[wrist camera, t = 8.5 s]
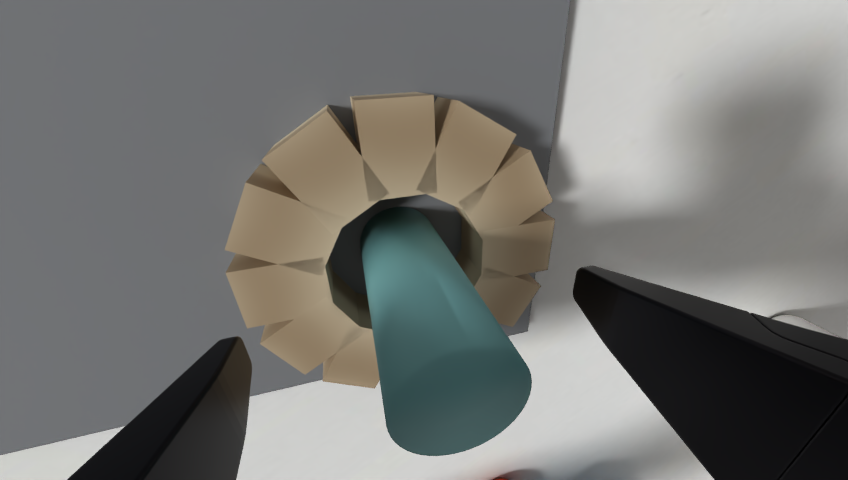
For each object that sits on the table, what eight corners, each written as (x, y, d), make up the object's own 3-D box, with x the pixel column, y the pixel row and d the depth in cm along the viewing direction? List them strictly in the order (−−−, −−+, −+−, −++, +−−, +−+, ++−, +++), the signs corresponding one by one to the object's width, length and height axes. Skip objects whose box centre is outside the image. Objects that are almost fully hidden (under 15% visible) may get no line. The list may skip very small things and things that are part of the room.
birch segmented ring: (512, 320, 16) (535, 351, 14) (287, 371, 13) (280, 415, 12) (535, 83, 11) (575, 85, 9) (196, 106, 9) (163, 114, 7)
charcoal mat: (521, 323, 17) (527, 331, 16) (-151, 476, 11) (-174, 495, 11) (583, -217, 8) (600, -236, 8) (-1740, -548, 3) (-2137, -667, 3)
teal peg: (436, 268, 13) (525, 433, 7) (365, 280, 12) (394, 471, 6) (433, 201, 12) (538, 331, 6) (354, 212, 11) (376, 368, 5)
